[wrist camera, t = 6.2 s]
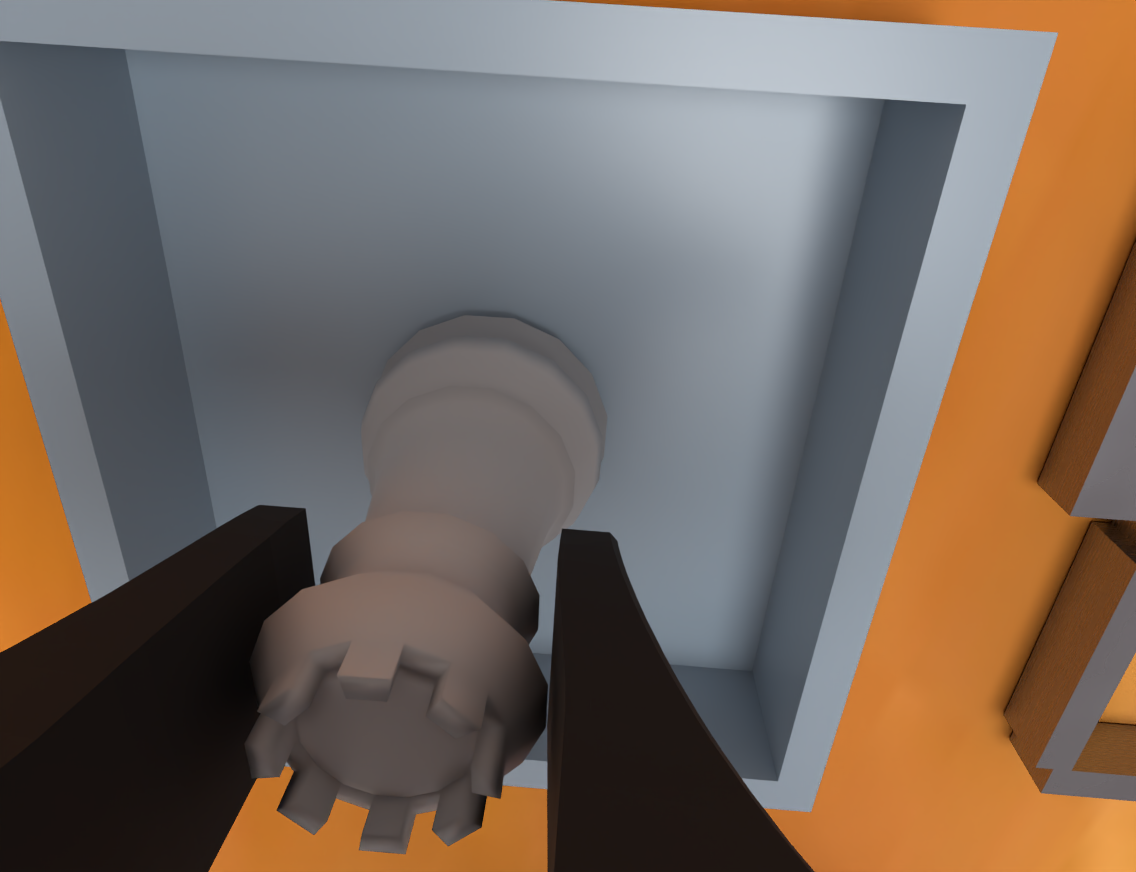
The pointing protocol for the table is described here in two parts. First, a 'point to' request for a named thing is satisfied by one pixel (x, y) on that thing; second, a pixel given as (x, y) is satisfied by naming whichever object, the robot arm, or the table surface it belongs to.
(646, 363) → the tray
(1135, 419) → the pulley bracket
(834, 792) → the table surface
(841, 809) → the table surface
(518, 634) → the rook chess piece
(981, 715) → the table surface
